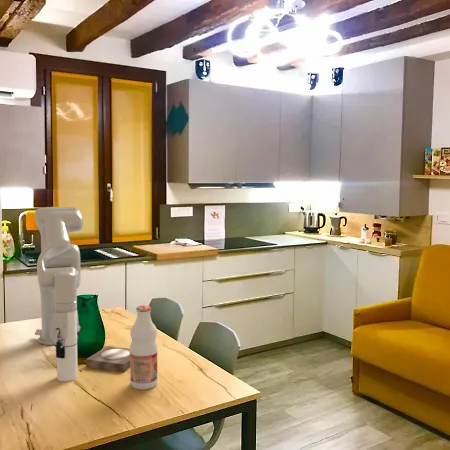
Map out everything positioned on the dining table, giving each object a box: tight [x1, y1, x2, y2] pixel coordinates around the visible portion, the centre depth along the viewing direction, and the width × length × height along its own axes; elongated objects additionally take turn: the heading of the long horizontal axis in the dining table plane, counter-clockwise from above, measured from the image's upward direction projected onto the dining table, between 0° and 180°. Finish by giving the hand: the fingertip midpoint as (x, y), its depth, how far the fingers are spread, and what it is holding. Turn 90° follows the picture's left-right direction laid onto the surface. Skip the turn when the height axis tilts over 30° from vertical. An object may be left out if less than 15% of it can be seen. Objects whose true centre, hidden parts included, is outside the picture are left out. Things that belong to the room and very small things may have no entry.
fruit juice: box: [129, 304, 158, 391], centre depth 184 cm, size 9×9×28 cm
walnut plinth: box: [85, 345, 130, 373], centre depth 207 cm, size 16×16×3 cm
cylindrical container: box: [56, 309, 79, 382], centre depth 190 cm, size 7×7×25 cm
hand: (66, 353), depth 191 cm, fingers closed on cylindrical container, 7 cm apart
